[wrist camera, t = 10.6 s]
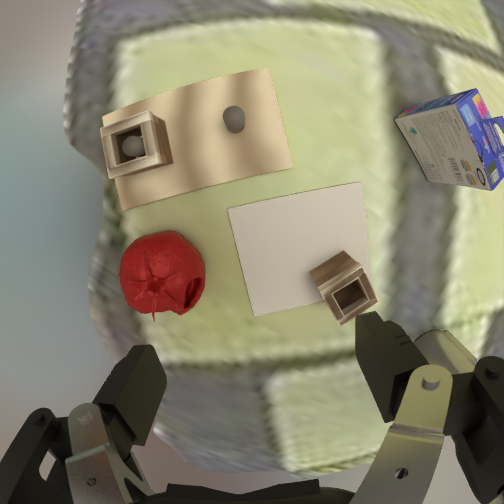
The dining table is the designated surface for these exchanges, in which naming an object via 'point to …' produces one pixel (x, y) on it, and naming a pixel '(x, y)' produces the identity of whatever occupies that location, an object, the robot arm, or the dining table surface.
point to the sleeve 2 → (344, 287)
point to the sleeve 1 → (152, 138)
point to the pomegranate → (162, 274)
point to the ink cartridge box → (456, 140)
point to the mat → (297, 243)
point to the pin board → (208, 136)
